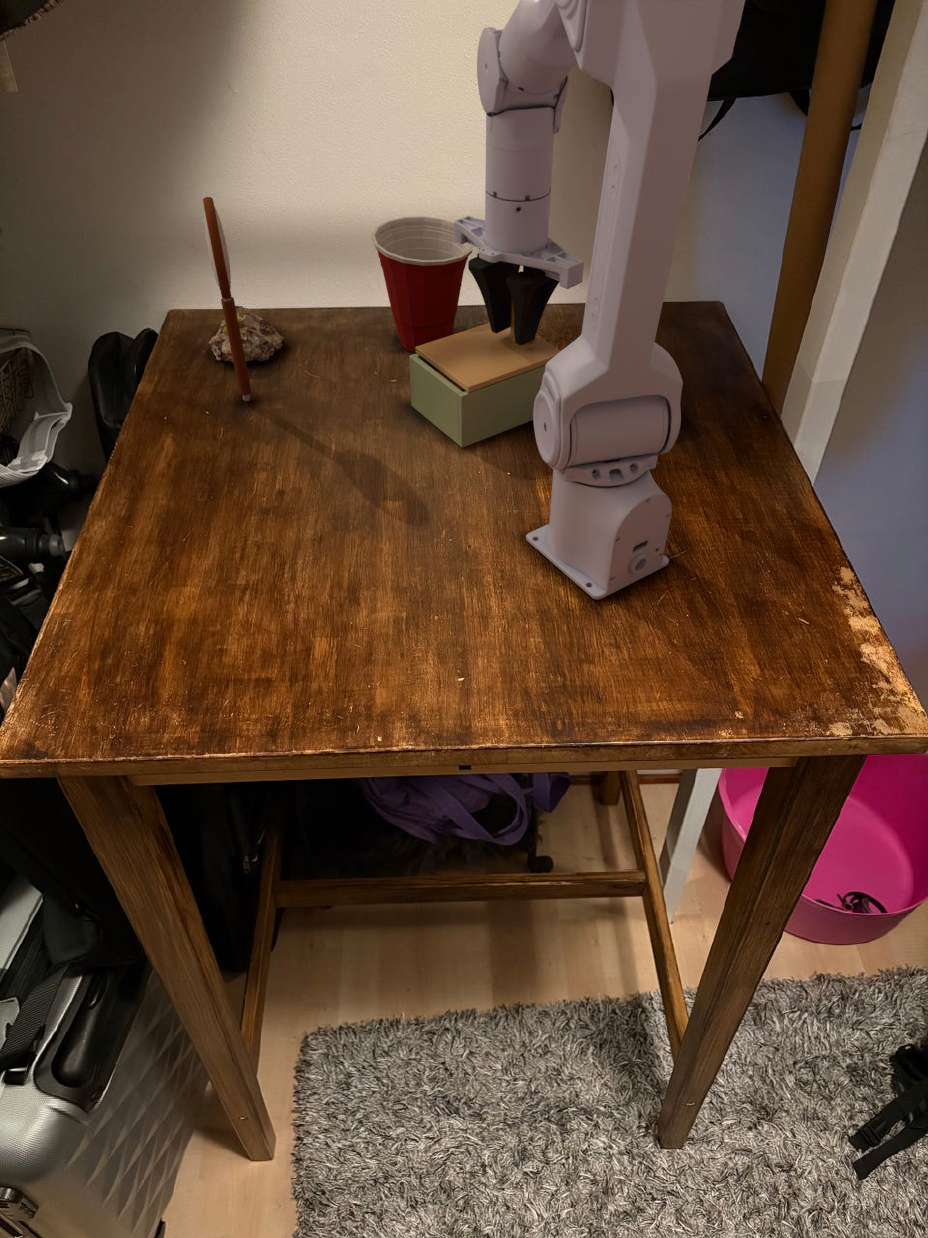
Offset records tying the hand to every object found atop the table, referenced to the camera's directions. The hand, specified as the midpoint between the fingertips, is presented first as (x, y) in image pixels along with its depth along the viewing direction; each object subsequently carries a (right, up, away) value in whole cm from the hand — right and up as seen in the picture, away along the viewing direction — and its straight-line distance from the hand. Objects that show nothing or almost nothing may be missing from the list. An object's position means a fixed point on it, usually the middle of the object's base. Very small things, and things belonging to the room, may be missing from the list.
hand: (513, 334), depth 88 cm
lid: (-2, -2, 0) cm, 3 cm away
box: (-3, -6, +3) cm, 8 cm away
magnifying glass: (-27, -5, +5) cm, 28 cm away
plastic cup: (-9, +3, +14) cm, 17 cm away
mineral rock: (-29, +3, +13) cm, 32 cm away
